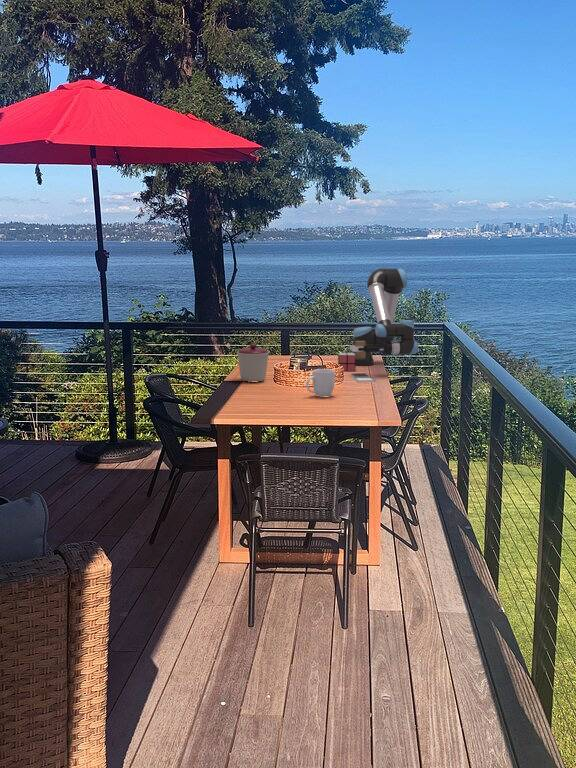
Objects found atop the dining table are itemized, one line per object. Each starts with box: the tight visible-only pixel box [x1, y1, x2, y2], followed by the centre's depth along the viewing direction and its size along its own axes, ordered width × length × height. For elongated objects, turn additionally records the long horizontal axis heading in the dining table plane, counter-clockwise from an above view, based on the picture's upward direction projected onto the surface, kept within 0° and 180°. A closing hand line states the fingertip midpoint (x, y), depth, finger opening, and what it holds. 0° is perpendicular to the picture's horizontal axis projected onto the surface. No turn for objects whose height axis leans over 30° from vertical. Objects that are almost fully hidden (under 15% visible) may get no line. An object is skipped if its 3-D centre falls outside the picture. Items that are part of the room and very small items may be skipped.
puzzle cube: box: [337, 352, 356, 373], centre depth 479 cm, size 10×10×10 cm
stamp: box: [355, 341, 366, 360], centre depth 454 cm, size 5×5×10 cm
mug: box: [305, 368, 336, 397], centre depth 399 cm, size 15×11×13 cm
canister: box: [236, 343, 270, 382], centre depth 440 cm, size 18×18×21 cm
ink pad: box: [349, 373, 370, 378], centre depth 457 cm, size 9×9×1 cm
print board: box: [351, 376, 377, 383], centre depth 446 cm, size 11×11×1 cm
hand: (351, 348), depth 453 cm, fingers closed on stamp, 5 cm apart
